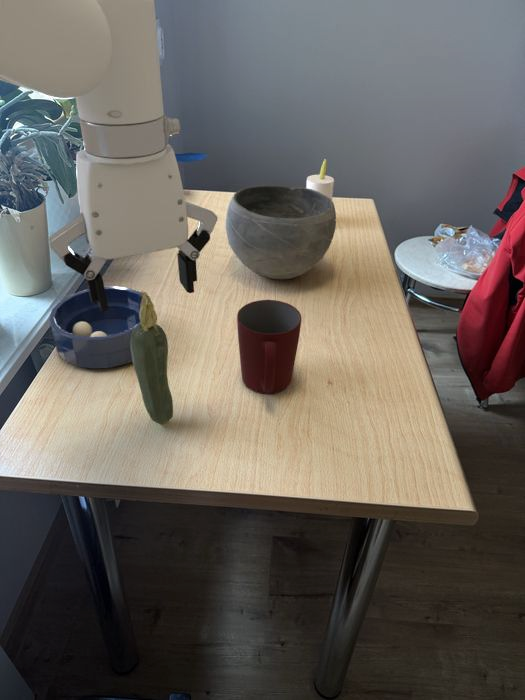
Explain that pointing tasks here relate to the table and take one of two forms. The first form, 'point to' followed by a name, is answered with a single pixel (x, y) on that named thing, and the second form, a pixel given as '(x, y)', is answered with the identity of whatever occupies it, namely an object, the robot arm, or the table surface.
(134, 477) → the table surface
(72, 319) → the mixing bowl
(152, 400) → the vegetable
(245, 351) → the mug
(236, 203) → the bowl
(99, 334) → the dumpling
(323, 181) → the candle
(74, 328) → the beige small ball
